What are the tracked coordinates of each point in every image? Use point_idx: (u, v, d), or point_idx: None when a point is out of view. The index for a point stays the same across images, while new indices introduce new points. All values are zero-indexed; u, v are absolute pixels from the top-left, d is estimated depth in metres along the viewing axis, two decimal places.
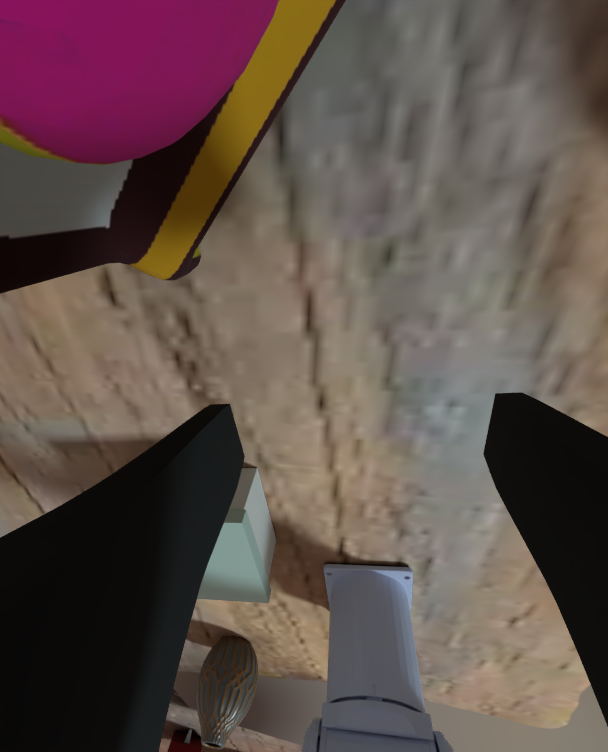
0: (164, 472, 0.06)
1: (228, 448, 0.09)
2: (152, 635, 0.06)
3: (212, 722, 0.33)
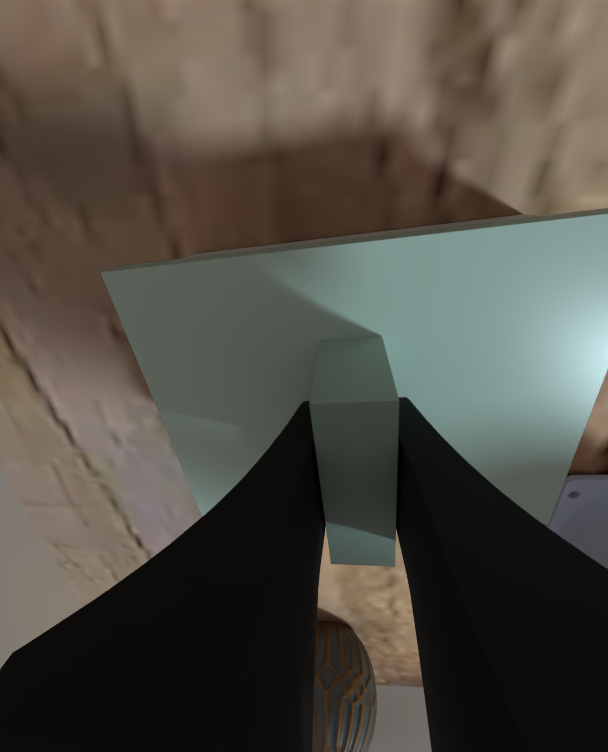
0: (303, 472, 0.06)
1: None
2: (304, 648, 0.05)
3: None
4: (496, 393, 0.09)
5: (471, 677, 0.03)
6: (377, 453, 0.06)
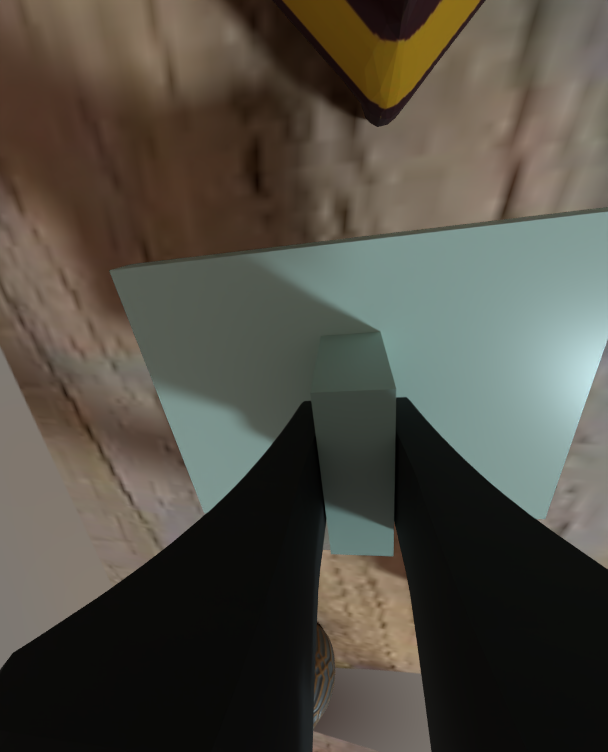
0: (303, 471, 0.06)
1: None
2: (305, 648, 0.05)
3: None
4: (491, 387, 0.09)
5: (471, 678, 0.03)
6: (376, 441, 0.06)
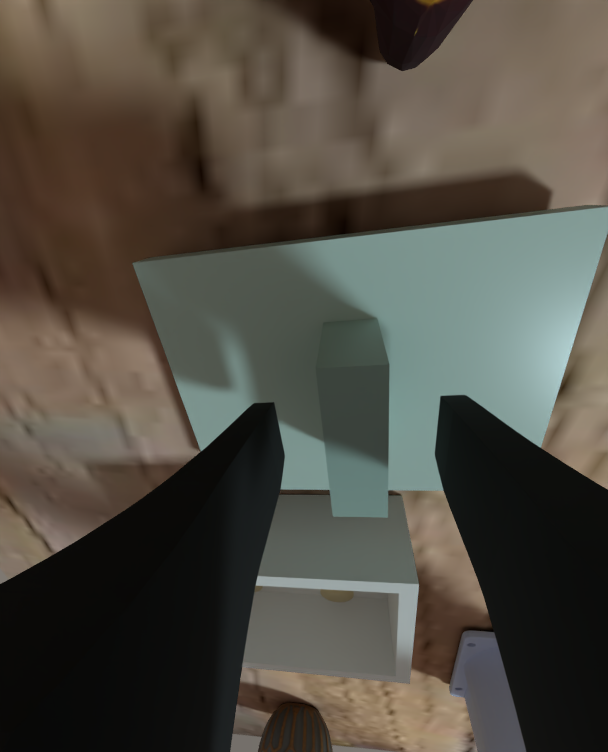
0: (228, 472, 0.06)
1: (274, 447, 0.09)
2: (222, 641, 0.05)
3: None
4: (477, 369, 0.10)
5: None
6: (372, 411, 0.07)
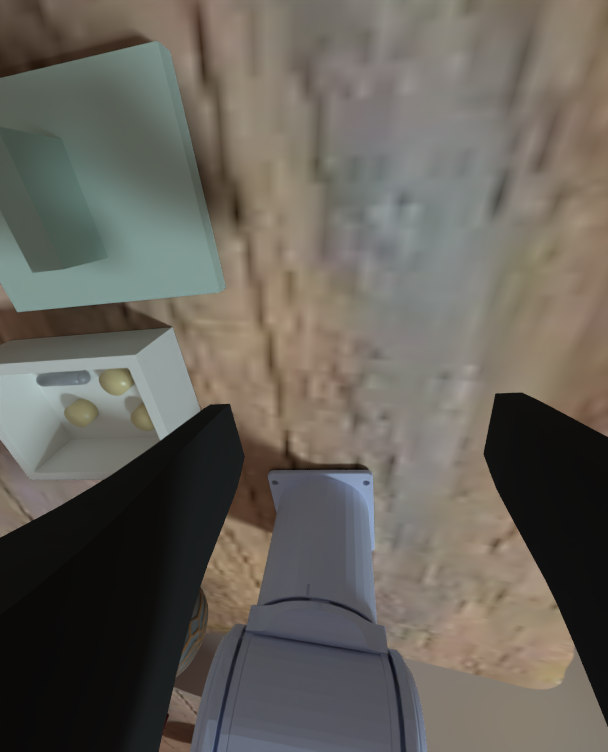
0: (165, 472, 0.06)
1: (228, 448, 0.09)
2: (152, 635, 0.06)
3: None
4: (139, 179, 0.14)
5: None
6: (7, 167, 0.12)
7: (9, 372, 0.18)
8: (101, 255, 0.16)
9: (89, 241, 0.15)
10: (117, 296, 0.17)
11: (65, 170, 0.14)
